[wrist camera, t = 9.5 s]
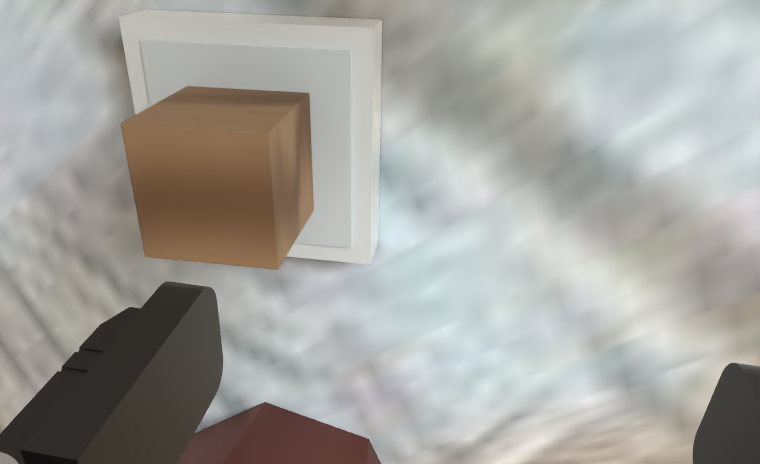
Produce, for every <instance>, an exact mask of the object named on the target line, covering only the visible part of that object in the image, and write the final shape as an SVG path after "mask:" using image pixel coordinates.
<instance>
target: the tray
mask: <svg viewBox="0 0 760 464" xmlns="http://www.w3.org/2000/svg"><path fill="white" fill-rule="evenodd" d="M119 22H120V28H121V34H122V40H123V46H124V52H125V58H126V64H127V70H128V76H129V82H130V87H131V93H132V99H133V105H134V111H135V115H136V114H138V113H140V112H142V111H143V110H145V109H147V108H149V107H151V106H152V105H154V104H156V103H158V102H159V101H161V100H163V99H165V98H167V97H168V96H170V95H172V94H174V93H175V92H177V91H179V90H181V89H183V88H184V87H186V86H196V87H214V88H232V89H249V90H267V91H285V92H303V93H309V95H310V121H311V147H312V173H313V199H314V211H313V212H312V214H311V216H310V217H309V219H308V221H307V222H306V224H305V226H304V227H303V229H302V231H301V232H300V234H299V236H298V237H297V239H296V241H295V242H294V244H293V246H292V247H291V249H290V251H289V252H288V254H287V256H286V257H296V258H307V259H317V260H327V261H338V262H348V263H358V264H369V265H371V262H372V260H373V257H374V254H375V251H376V248H377V245H378V233H379V180H380V126H381V72H382V20H380V19H357V18H334V17H310V16H287V15H264V14H241V13H217V12H194V11H171V10H148V9H145V10H141V11H137V12H134V13H130V14H126V15H123V16H119Z"/></svg>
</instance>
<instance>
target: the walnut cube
mask: <svg viewBox="0 0 760 464" xmlns="http://www.w3.org/2000/svg"><path fill="white" fill-rule="evenodd" d="M121 128H122V133H123V139H124V144H125V150H126V155H127V160H128V166H129V171H130V177H131V182H132V187H133V193H134V198H135V204H136V209H137V214H138V220H139V225H140V231H141V236H142V242H143V247H144V252H145V257H153V258H164V259H174V260H184V261H195V262H205V263H215V264H226V265H236V266H246V267H257V268H267V269H279V267H280V266H281V264H282V262H283V261H284V259H285V257H286V256H287V254H288V252H289V251H290V249H291V247H292V246H293V244H294V242H295V241H296V239H297V237H298V236H299V234H300V232H301V231H302V229H303V227H304V226H305V224H306V222H307V221H308V219H309V217H310V216H311V214H312V212H313V211H314V199H313V173H312V147H311V121H310V95H309V93H303V92H285V91H267V90H249V89H232V88H214V87H196V86H186V87H184V88H183V89H181V90H179V91H177V92H175V93H174V94H172V95H170V96H168V97H167V98H165V99H163V100H161V101H159V102H158V103H156V104H154V105H152V106H151V107H149V108H147V109H145V110H143V111H142V112H140V113H138V114H136V115H135V116H133V117H131V118H129V119H127V120H126V121H124V122H122V123H121Z"/></svg>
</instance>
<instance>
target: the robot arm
mask: <svg viewBox="0 0 760 464" xmlns="http://www.w3.org/2000/svg"><path fill="white" fill-rule="evenodd" d="M79 348H80V349H79V352H75V353H74V354H73V355H72V356H71V357H70V358H69V359H68V361H67V362H66V363H65V364H64V365H63V366H62V370H61V372H58V371H57V373H56V374H55V375H54V376H53V377H52V378H51V379H50V380H49V381H48V382H47V383H46V385H45V386H44V387H43V388H42V389H41V390H40V391H39V392H38V393H37V394H36V395H35V397H34V398H33V399H32V400H31V401H30V402H29V403H28V404H27V405H26V406H25V407H24V409H23V410H22V411H21V412H20V413H19V414H18V415H17V416H16V417H15V418H14V419H13V421H12V422H11V423H10V424H9V425H8V426H7V427H6V428H5V429H4V430H3V432H2V433H1V434H0V464H177V463H178V461H179V459H180V457H181V456H182V454H183V452H184V450H185V448H186V447H187V445H188V443H189V441H190V440H191V438H192V436H193V434H194V432H195V431H196V429H197V427H198V425H199V424H200V422H201V420H202V418H203V416H204V415H205V413H206V411H207V409H208V408H209V406H210V404H211V402H212V400H213V399H214V397H215V395H216V392H217V390H218V387H219V384H220V380H221V376H222V370H223V354H222V344H221V335H220V326H219V316H218V307H217V299H216V294H215V292H214V290H213V289H212V288H210V287H204V286H197V285H190V284H183V283H176V282H165V283H163V284H162V285H161V286H160V287H159V288H158V289H157V290H156V291H155V293H154V294H153V295H152V296H151V297H150V298H149V300H148V301H147V302H146V303H145V304H144V305H143V307H142V308H141V309H139V308H132V307H129V308H127V309H126V310H124V311H122V312H121V313H119V314H117V315H116V316H114V317H112V318H111V319H109V320H107V321H106V322H104V323H102V324H101V325H100V326H99V327H98V328H97V329H96V330H95V331H94V332H93V333H92V334H91V335H90V336H89V338H88V339H87V340H86V341H85V342H84V343H83V344H82V345H81V346H80V347H79ZM693 464H760V367H759V366H752V365H745V364H738V363H731V364H729V365H728V366H726V368H725V369H724V370H723V372H722V374H721V377H720V379H719V381H718V384H717V386H716V388H715V391H714V393H713V395H712V398H711V400H710V402H709V405H708V407H707V410H706V412H705V414H704V417H703V419H702V421H701V424H700V426H699V428H698V431H697V433H696V436H695V440H694V445H693Z"/></svg>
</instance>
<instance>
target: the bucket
mask: <svg viewBox="0 0 760 464" xmlns="http://www.w3.org/2000/svg"><path fill="white" fill-rule="evenodd" d="M177 464H381V463H380V461H379V459H378V457H377V455H376V453H375V451H374V449H373V447H372V445H371V443H370V441H369V439H367V438H364V437H361V436H359V435H356V434H353V433H350V432H347V431H345V430H342V429H339V428H336V427H333V426H331V425H328V424H325V423H322V422H319V421H316V420H314V419H311V418H308V417H305V416H302V415H300V414H297V413H294V412H291V411H288V410H286V409H283V408H280V407H277V406H274V405H272V404H269V403H266V402H264V403H262V404H260V405H258V406H255V407H253V408H251V409H248V410H246V411H244V412H242V413H239V414H237V415H235V416H233V417H230V418H228V419H226V420H224V421H221V422H219V423H217V424H215V425H212V426H210V427H208V428H206V429H203V430H201V431H199V432H197V433H194V434H193V436H192V438H191V440H190V441H189V443H188V445H187V447H186V448H185V450H184V452H183V454H182V456H181V457H180V459H179V461H178V463H177Z"/></svg>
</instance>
